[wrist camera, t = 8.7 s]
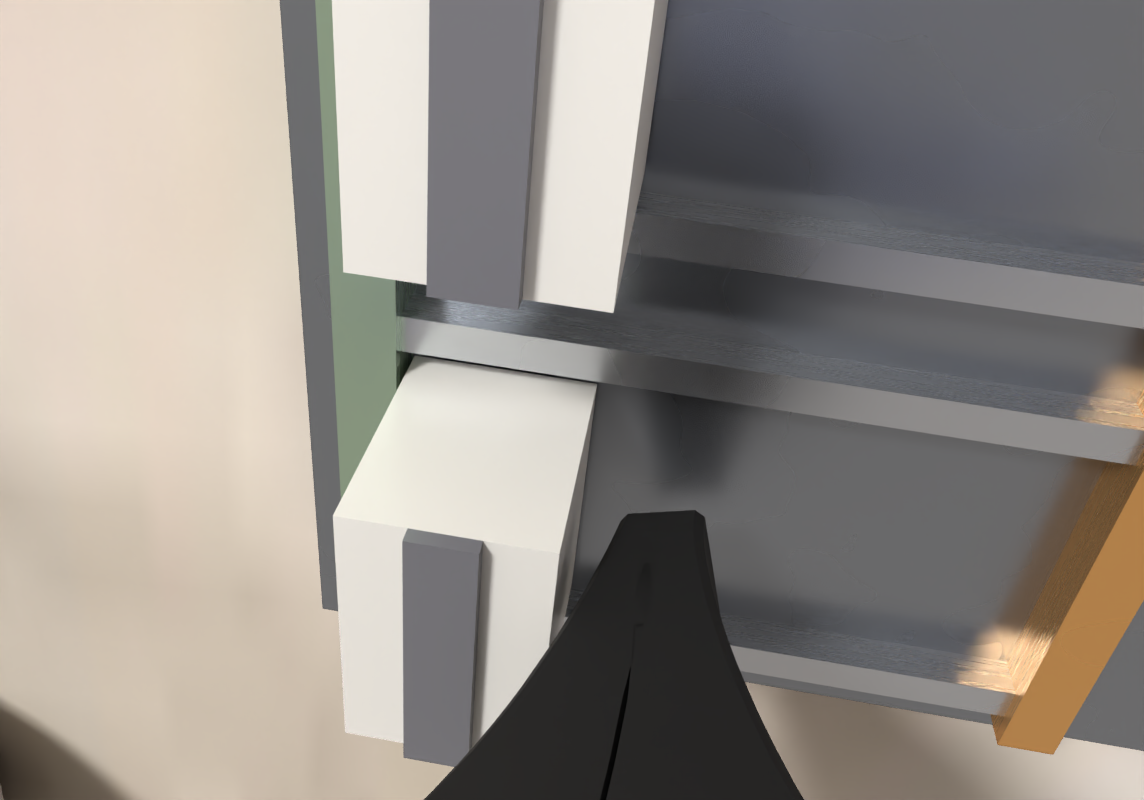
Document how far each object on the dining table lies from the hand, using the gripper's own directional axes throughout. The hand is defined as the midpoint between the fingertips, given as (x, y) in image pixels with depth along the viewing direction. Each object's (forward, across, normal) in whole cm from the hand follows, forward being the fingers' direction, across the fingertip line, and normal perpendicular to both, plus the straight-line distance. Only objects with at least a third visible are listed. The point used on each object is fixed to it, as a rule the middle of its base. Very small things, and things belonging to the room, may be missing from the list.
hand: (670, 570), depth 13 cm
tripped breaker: (+1, +2, -1) cm, 3 cm away
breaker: (+1, 0, -7) cm, 7 cm away
